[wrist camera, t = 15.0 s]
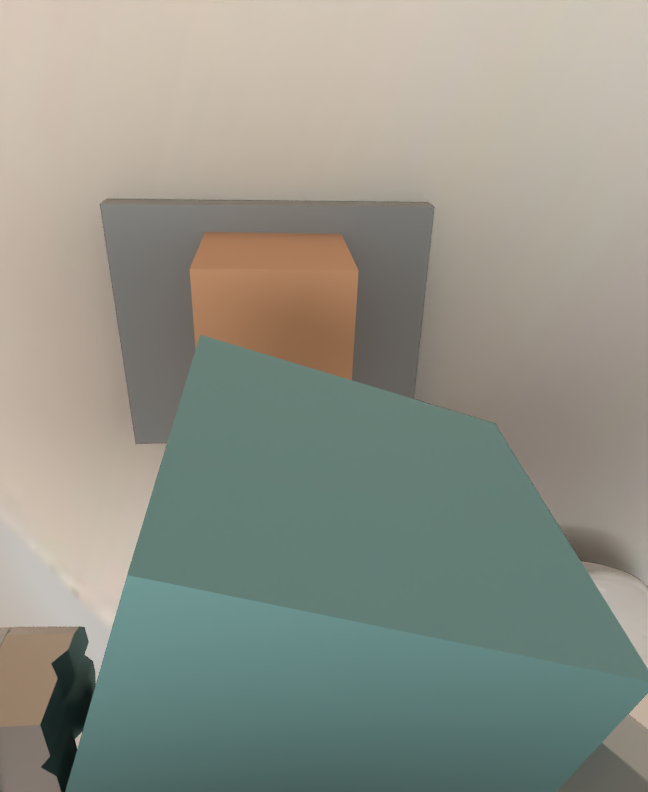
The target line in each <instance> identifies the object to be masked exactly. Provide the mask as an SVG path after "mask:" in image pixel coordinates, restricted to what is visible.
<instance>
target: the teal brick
mask: <svg viewBox="0 0 648 792" xmlns="http://www.w3.org/2000/svg"><path fill="white" fill-rule="evenodd" d="M647 693H648V668H647V667H646V665H645V664H644V662H643V660H642V659H641V657H640V656H639V654H638V652H637V651H636V649H635V648H634V646H633V644H632V643H631V641H630V639H629V638H628V636H627V635H626V633H625V631H624V630H623V628H622V627H621V625H620V623H619V622H618V620H617V619H616V617H615V615H614V614H613V612H612V611H611V609H610V607H609V606H608V604H607V603H606V601H605V599H604V598H603V596H602V594H601V593H600V591H599V590H598V588H597V586H596V585H595V583H594V582H593V580H592V578H591V577H590V575H589V574H588V572H587V570H586V569H585V567H584V566H583V564H582V562H581V561H580V559H579V558H578V556H577V554H576V553H575V551H574V550H573V548H572V546H571V545H570V543H569V541H568V540H567V538H566V537H565V535H564V533H563V532H562V530H561V529H560V527H559V525H558V524H557V522H556V521H555V519H554V517H553V516H552V514H551V513H550V511H549V509H548V508H547V506H546V505H545V503H544V501H543V500H542V498H541V497H540V495H539V493H538V492H537V490H536V488H535V487H534V485H533V484H532V482H531V480H530V479H529V477H528V476H527V474H526V472H525V471H524V469H523V468H522V466H521V464H520V463H519V461H518V460H517V458H516V456H515V455H514V453H513V452H512V450H511V448H510V447H509V445H508V443H507V442H506V440H505V439H504V437H503V435H502V434H501V432H500V431H499V429H498V427H497V426H496V424H495V423H492V422H488V421H485V420H482V419H478V418H475V417H472V416H468V415H465V414H462V413H459V412H455V411H452V410H449V409H445V408H442V407H439V406H435V405H432V404H429V403H425V402H422V401H419V400H415V399H412V398H409V397H405V396H402V395H399V394H396V393H392V392H389V391H386V390H382V389H379V388H376V387H372V386H369V385H366V384H362V383H359V382H356V381H352V380H349V379H346V378H342V377H339V376H336V375H332V374H329V373H326V372H323V371H319V370H316V369H313V368H309V367H306V366H303V365H299V364H296V363H293V362H289V361H286V360H283V359H279V358H276V357H273V356H269V355H266V354H263V353H259V352H256V351H253V350H250V349H246V348H243V347H240V346H236V345H233V344H230V343H226V342H223V341H220V340H216V339H213V338H210V337H206V336H203V335H200V337H199V340H198V343H197V347H196V350H195V353H194V357H193V360H192V363H191V367H190V370H189V373H188V376H187V380H186V383H185V386H184V390H183V393H182V396H181V399H180V403H179V406H178V409H177V413H176V416H175V419H174V423H173V426H172V429H171V432H170V436H169V439H168V442H167V446H166V449H165V452H164V456H163V459H162V462H161V465H160V469H159V472H158V475H157V479H156V482H155V485H154V489H153V492H152V495H151V498H150V502H149V505H148V508H147V512H146V515H145V518H144V521H143V525H142V528H141V531H140V535H139V538H138V541H137V545H136V548H135V551H134V554H133V558H132V561H131V564H130V568H129V571H128V574H127V578H126V581H125V585H124V588H123V592H122V595H121V599H120V602H119V606H118V609H117V613H116V616H115V620H114V623H113V627H112V630H111V634H110V637H109V641H108V644H107V648H106V651H105V655H104V658H103V662H102V665H101V669H100V672H99V676H98V679H97V683H96V686H95V690H94V693H93V697H92V700H91V704H90V707H89V711H88V714H87V718H86V721H85V725H84V728H83V732H82V735H81V739H80V742H79V746H78V749H77V752H76V756H75V759H74V763H73V766H72V770H71V773H70V777H69V780H68V784H67V787H66V791H65V792H556V791H557V790H558V789H559V788H560V787H561V786H562V785H563V784H564V783H565V782H566V781H567V779H568V778H569V777H570V776H571V775H572V774H573V773H574V772H575V771H576V770H577V769H578V768H579V767H580V765H581V764H582V763H583V762H584V761H585V760H586V759H587V758H588V757H589V756H590V755H591V754H592V753H593V751H594V750H595V749H596V748H597V747H598V746H599V745H600V744H601V743H602V742H603V741H604V740H605V739H606V738H607V736H608V735H609V734H610V733H611V732H612V731H613V730H614V729H615V728H616V727H617V726H618V725H619V724H620V722H621V721H622V720H623V719H624V718H625V717H626V716H627V715H628V714H629V713H630V712H631V711H632V710H633V708H634V707H635V706H636V705H637V704H638V703H639V702H640V701H641V700H642V699H643V698H644V697H645V695H646V694H647Z"/></svg>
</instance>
